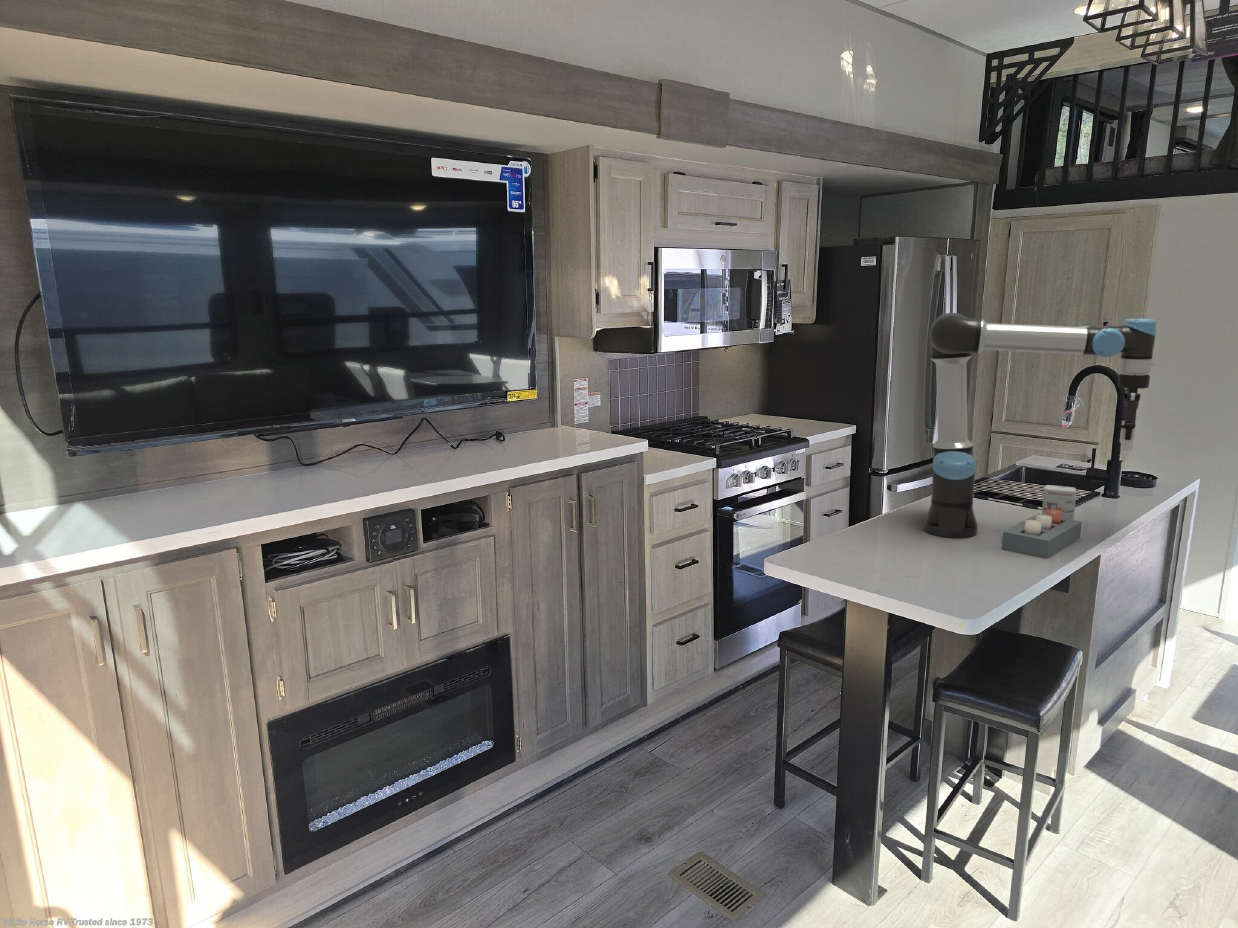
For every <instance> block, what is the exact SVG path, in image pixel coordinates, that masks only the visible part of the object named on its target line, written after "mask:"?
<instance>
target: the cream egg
mask: <svg viewBox="0 0 1238 928" xmlns="http://www.w3.org/2000/svg"><path fill="white" fill-rule="evenodd" d="M1039 514H1040V515H1037V514H1035V515H1036V520H1037V521H1040V522H1042V523H1041V529H1045V530H1050V529H1051V522H1052V517H1051V516H1049V515H1042V513H1039Z"/></svg>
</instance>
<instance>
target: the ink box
mask: <svg viewBox="0 0 1238 928" xmlns="http://www.w3.org/2000/svg"><path fill="white" fill-rule="evenodd" d="M1043 487H1044V488H1043V498H1042V499H1043V500H1042V506H1041V507H1042V509H1041V514H1042V515H1046V510H1048V509H1054V510H1060V511H1062V516H1061V518H1065V519H1070V520H1075V519H1074V516H1075V508H1076V499H1077V489H1076V487H1071V486H1063V485H1053V484H1052V485H1049V484H1047V485H1044V486H1043Z"/></svg>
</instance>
